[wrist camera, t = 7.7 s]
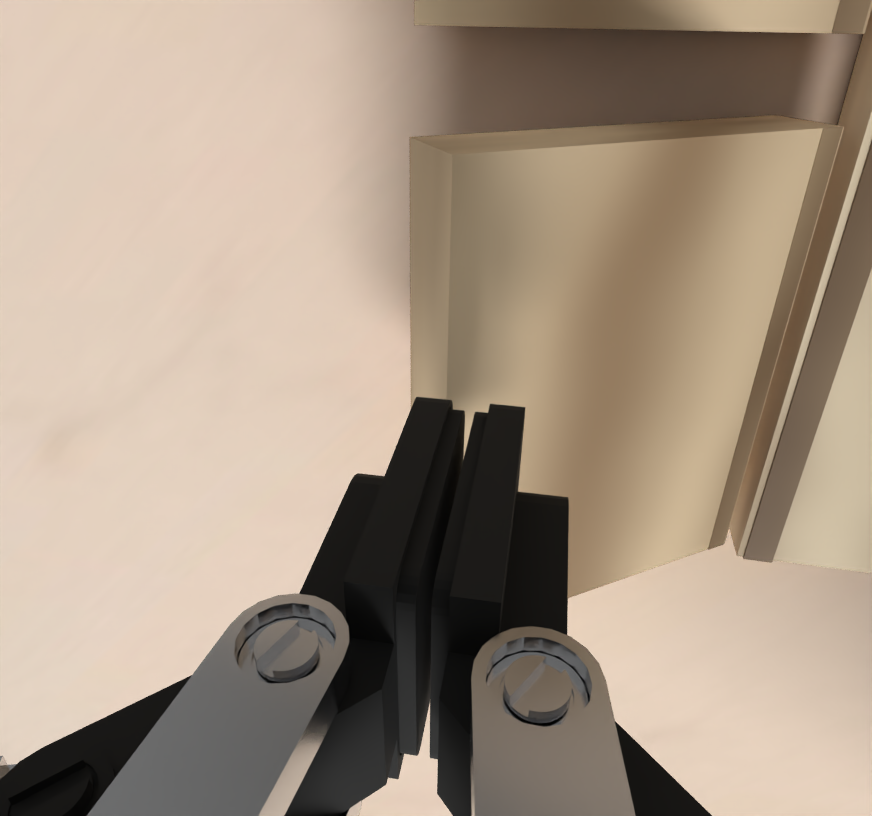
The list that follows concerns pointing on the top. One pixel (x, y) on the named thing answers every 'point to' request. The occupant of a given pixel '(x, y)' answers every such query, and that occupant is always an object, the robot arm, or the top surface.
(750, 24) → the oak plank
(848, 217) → the laid oak floor row
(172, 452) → the top surface
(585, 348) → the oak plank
